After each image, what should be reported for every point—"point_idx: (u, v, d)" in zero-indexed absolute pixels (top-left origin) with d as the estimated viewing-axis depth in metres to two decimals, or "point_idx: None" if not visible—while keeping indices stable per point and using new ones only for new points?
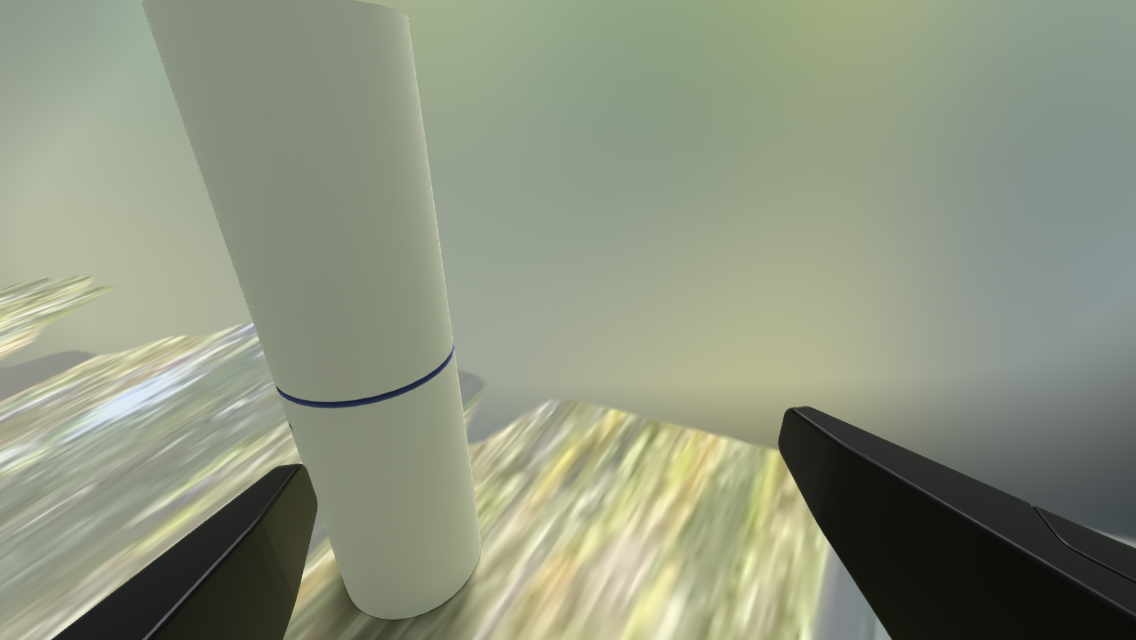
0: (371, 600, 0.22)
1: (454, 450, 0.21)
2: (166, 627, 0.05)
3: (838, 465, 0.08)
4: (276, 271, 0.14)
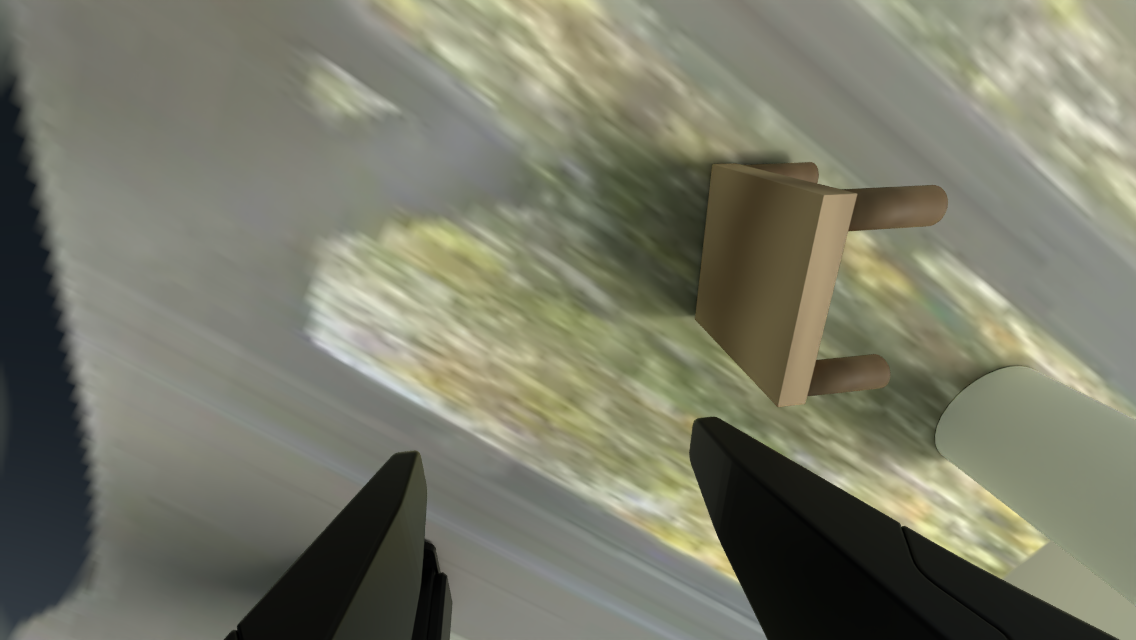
0: (970, 417, 0.26)
1: None
2: (354, 598, 0.05)
3: (731, 479, 0.07)
4: None
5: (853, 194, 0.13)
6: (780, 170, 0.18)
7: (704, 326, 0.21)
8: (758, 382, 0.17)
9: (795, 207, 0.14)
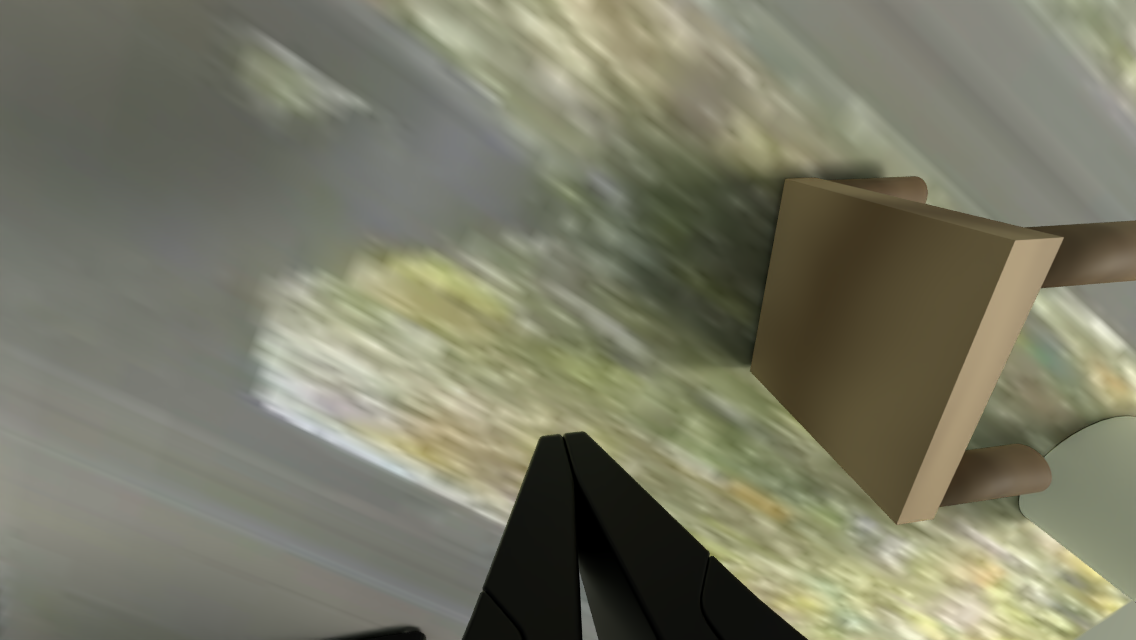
0: (1071, 479, 0.22)
1: None
2: (578, 564, 0.05)
3: (577, 500, 0.07)
4: None
5: (1057, 238, 0.08)
6: (878, 187, 0.14)
7: (765, 383, 0.16)
8: (858, 479, 0.12)
9: (947, 252, 0.09)
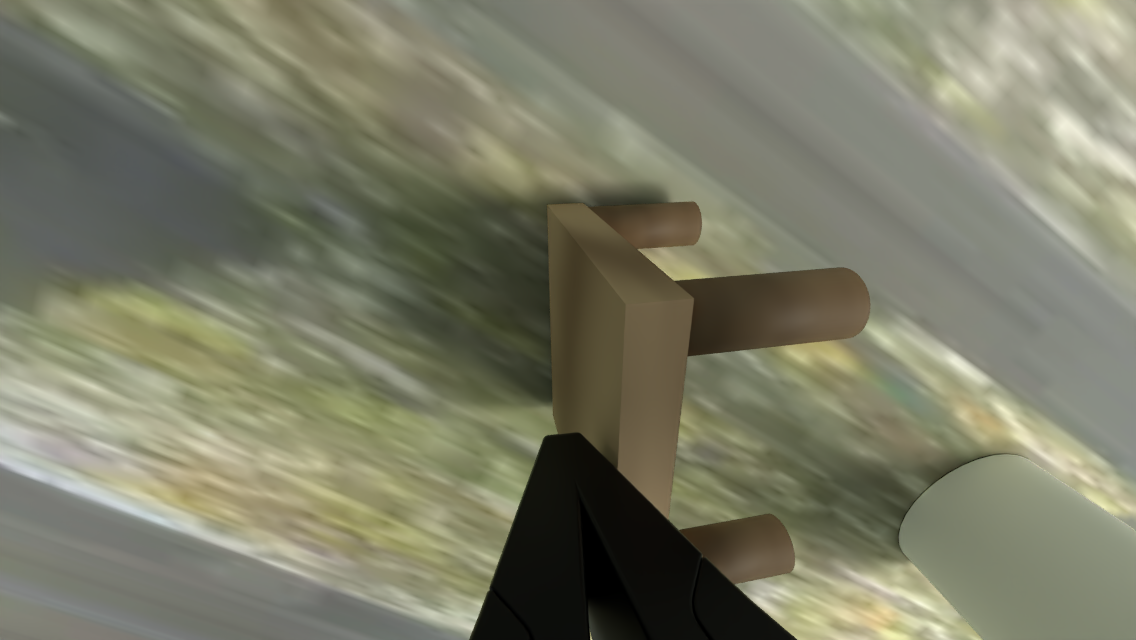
0: (941, 523, 0.20)
1: None
2: (585, 563, 0.05)
3: None
4: None
5: (687, 299, 0.06)
6: (643, 215, 0.12)
7: (558, 431, 0.14)
8: None
9: (603, 309, 0.07)
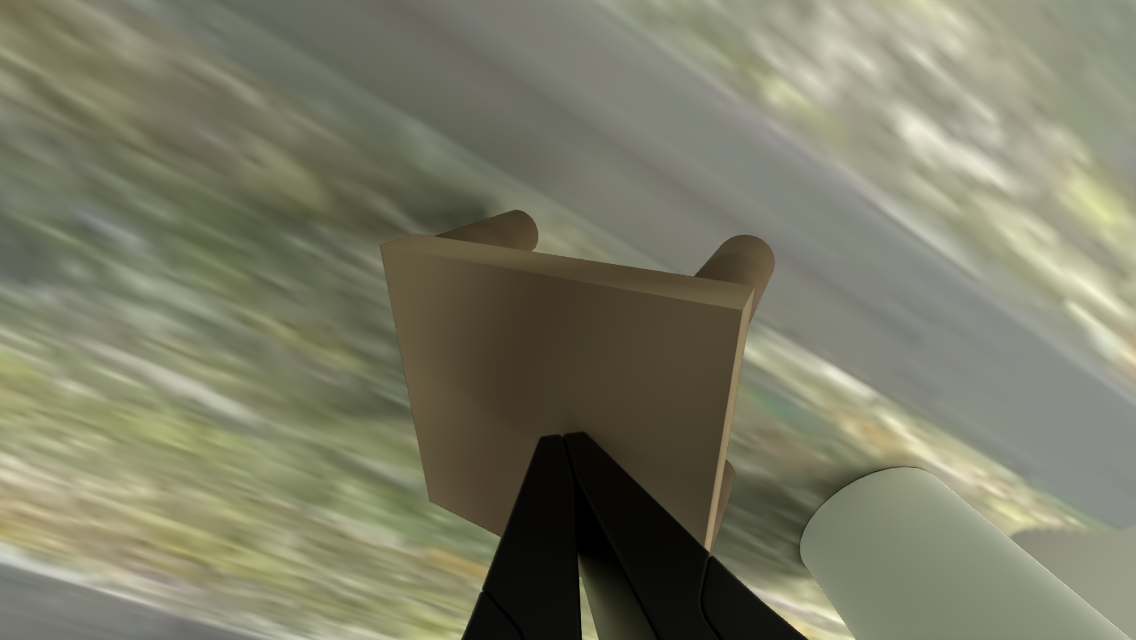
0: (833, 540, 0.19)
1: None
2: (578, 564, 0.05)
3: (577, 500, 0.07)
4: None
5: (751, 289, 0.07)
6: (495, 233, 0.11)
7: (459, 512, 0.12)
8: None
9: (659, 330, 0.07)
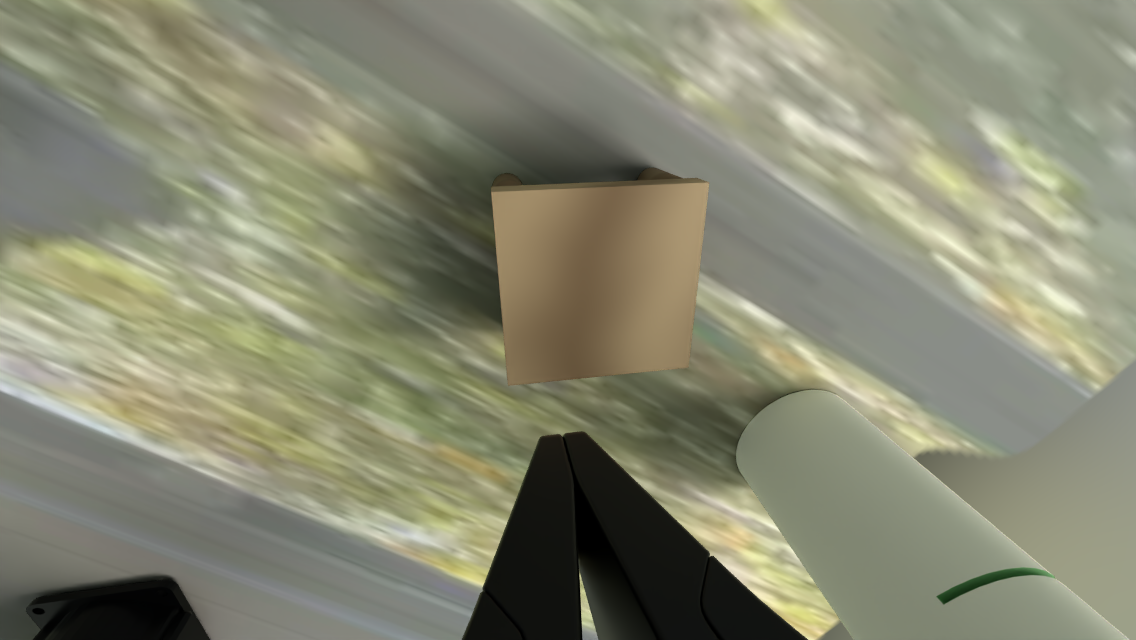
0: (756, 444, 0.24)
1: None
2: (578, 564, 0.05)
3: (577, 500, 0.07)
4: None
5: (696, 179, 0.16)
6: (520, 184, 0.16)
7: (536, 379, 0.17)
8: (655, 367, 0.18)
9: (674, 201, 0.15)
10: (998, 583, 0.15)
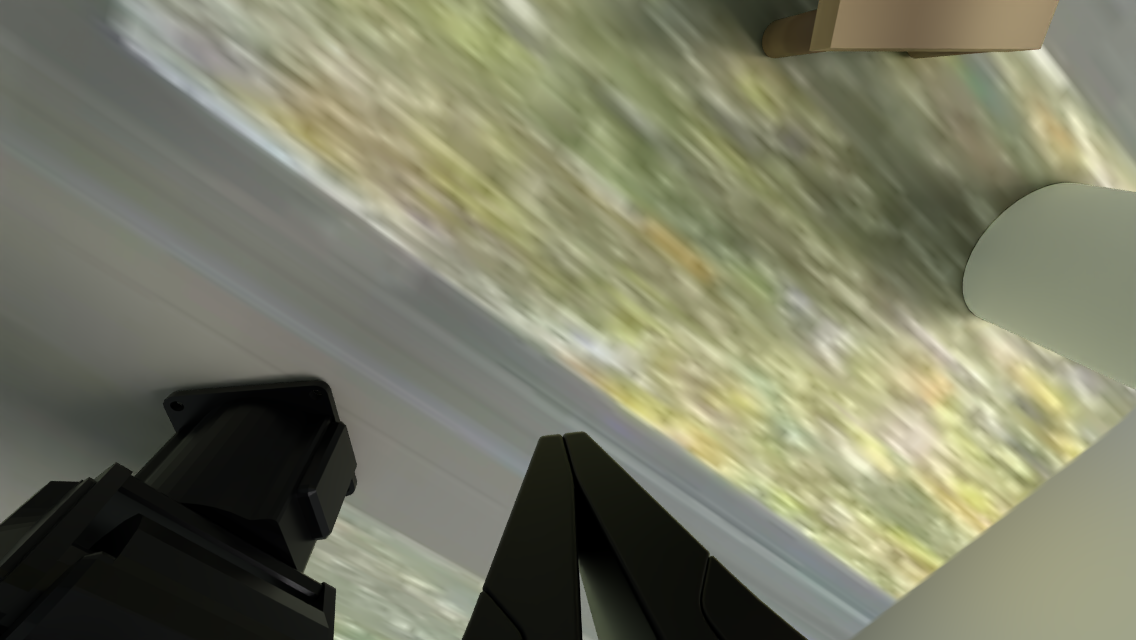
0: (1011, 240, 0.20)
1: None
2: (578, 564, 0.05)
3: (577, 500, 0.07)
4: None
5: None
6: None
7: (865, 42, 0.13)
8: (1004, 42, 0.14)
9: None
10: None
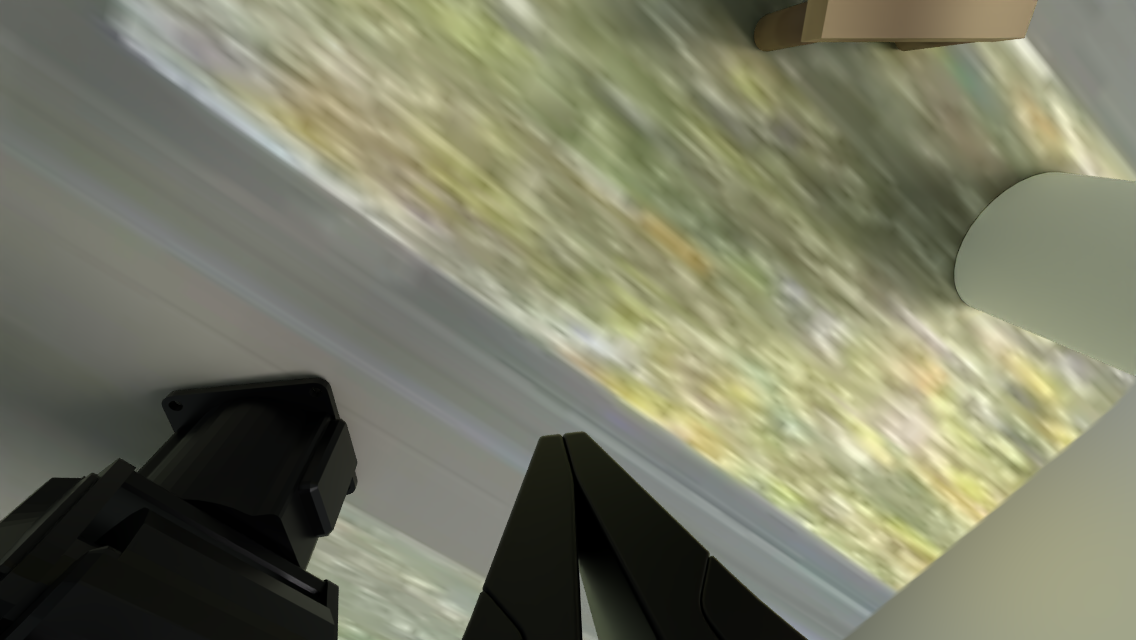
0: (1000, 229, 0.21)
1: None
2: (578, 564, 0.05)
3: (577, 500, 0.07)
4: None
5: None
6: None
7: (855, 32, 0.14)
8: (989, 32, 0.14)
9: None
10: None
